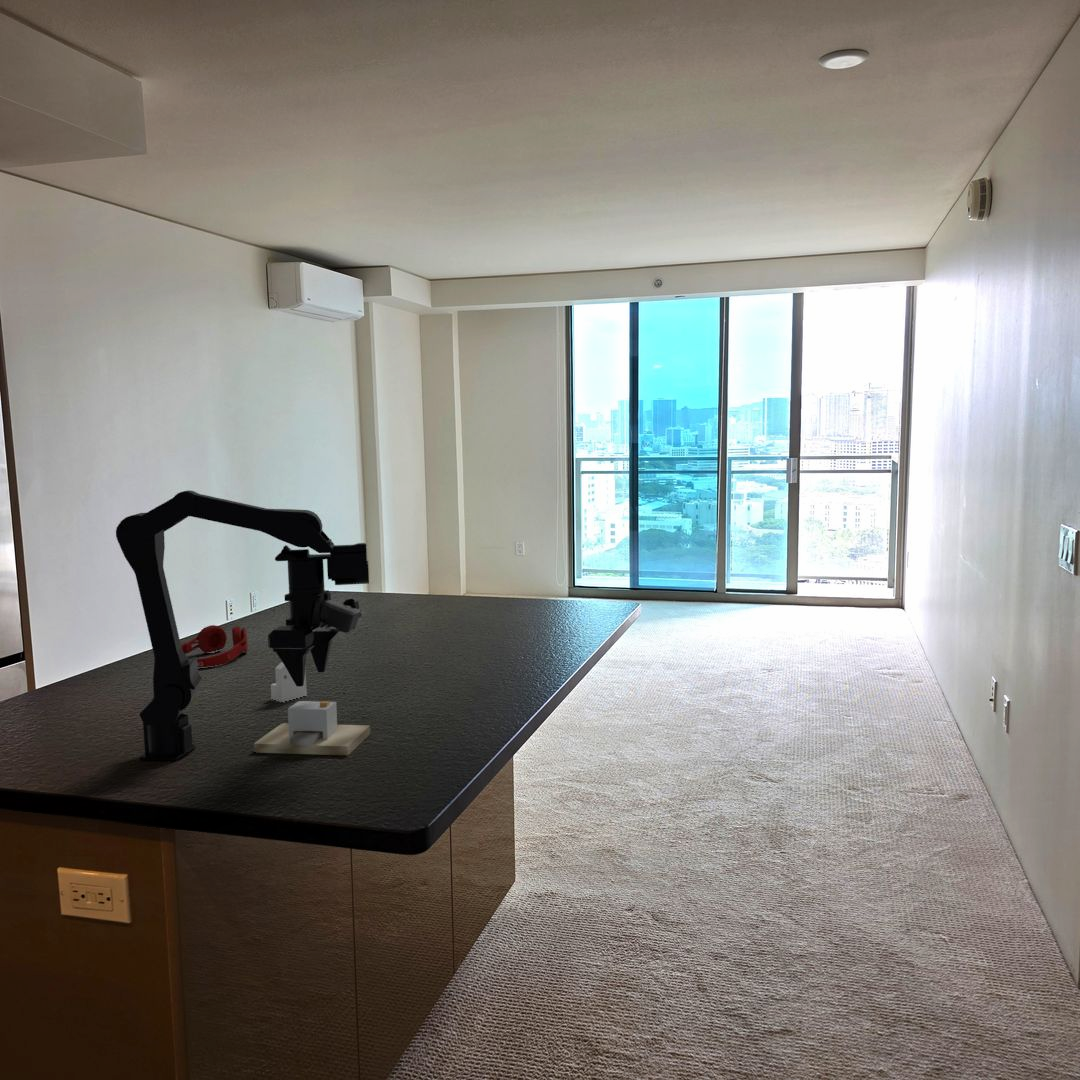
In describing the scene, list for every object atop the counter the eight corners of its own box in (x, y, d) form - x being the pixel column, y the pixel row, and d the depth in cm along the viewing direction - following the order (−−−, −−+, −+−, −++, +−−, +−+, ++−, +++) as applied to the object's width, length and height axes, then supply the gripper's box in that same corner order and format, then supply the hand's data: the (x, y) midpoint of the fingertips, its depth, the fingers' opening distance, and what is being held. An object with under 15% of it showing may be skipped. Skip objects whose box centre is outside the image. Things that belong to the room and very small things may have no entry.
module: (289, 738, 150) (287, 705, 150) (299, 729, 155) (298, 697, 154) (327, 739, 149) (326, 706, 149) (337, 730, 154) (336, 698, 153)
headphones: (208, 647, 228) (159, 678, 209) (204, 621, 226) (155, 649, 207) (262, 649, 224) (217, 681, 205) (258, 622, 223) (213, 651, 204)
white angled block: (323, 679, 185) (304, 647, 181) (289, 713, 179) (268, 680, 175) (313, 676, 187) (293, 644, 183) (278, 710, 181) (257, 678, 177)
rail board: (254, 752, 148) (253, 737, 148) (282, 731, 159) (281, 717, 159) (347, 755, 146) (347, 740, 145) (370, 733, 156) (369, 719, 156)
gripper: (332, 596, 139) (336, 695, 141) (371, 578, 158) (375, 666, 159) (264, 595, 141) (269, 693, 142) (310, 578, 159) (315, 665, 161)
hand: (311, 679), depth 151 cm, fingers open, 9 cm apart
